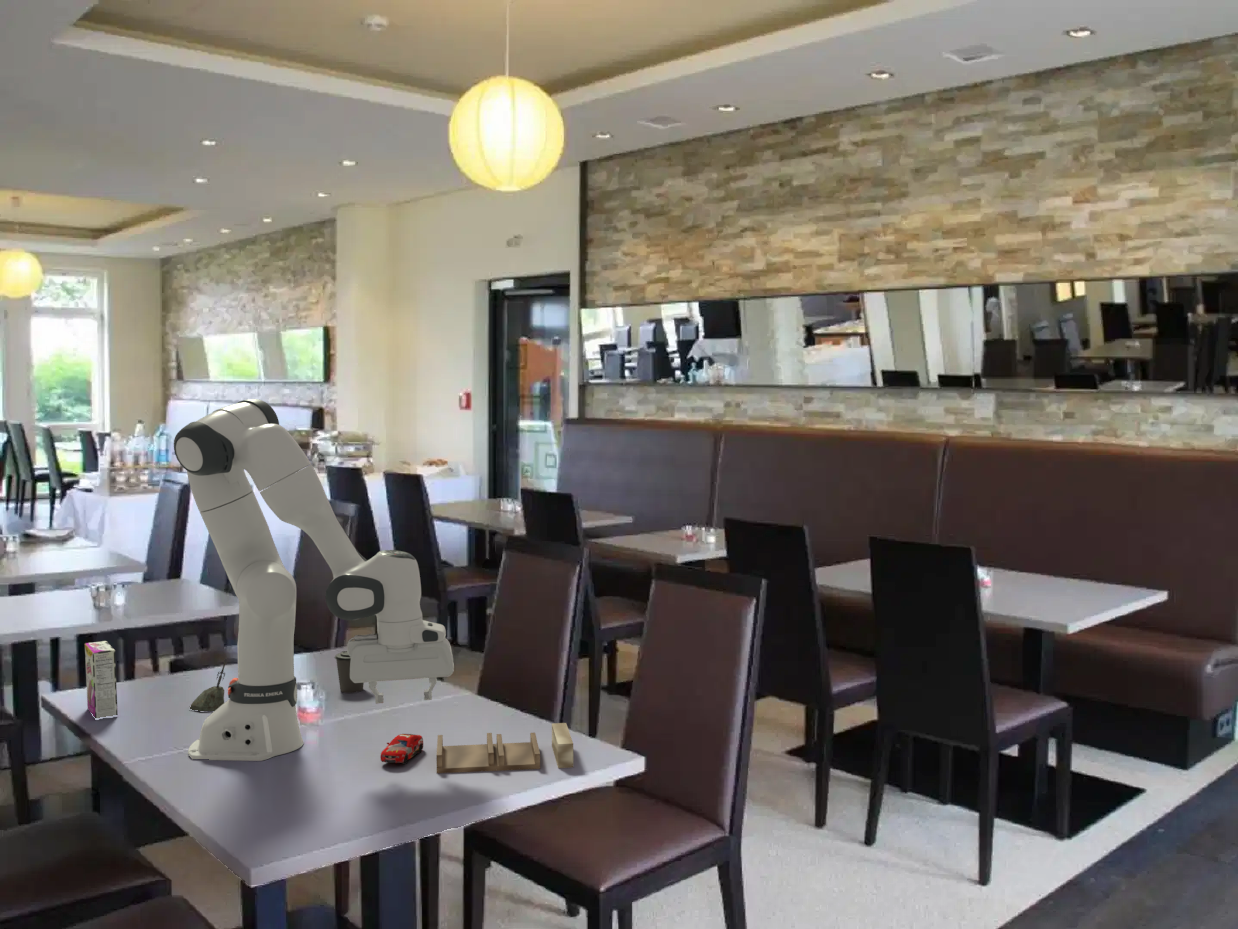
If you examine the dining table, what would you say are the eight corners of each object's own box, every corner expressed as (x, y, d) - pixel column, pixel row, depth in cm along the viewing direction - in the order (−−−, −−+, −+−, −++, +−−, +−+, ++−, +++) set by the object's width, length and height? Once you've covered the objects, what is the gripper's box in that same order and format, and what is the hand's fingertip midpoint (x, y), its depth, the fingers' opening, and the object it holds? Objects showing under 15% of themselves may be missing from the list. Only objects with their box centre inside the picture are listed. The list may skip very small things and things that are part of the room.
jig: (436, 774, 215) (436, 756, 215) (438, 751, 229) (437, 734, 229) (540, 769, 218) (539, 751, 218) (535, 746, 232) (535, 730, 231)
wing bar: (558, 769, 218) (558, 744, 218) (551, 747, 232) (551, 723, 232) (573, 768, 219) (573, 743, 219) (566, 746, 233) (566, 723, 232)
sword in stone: (191, 718, 253) (189, 666, 252) (184, 710, 260) (183, 659, 259) (236, 712, 258) (235, 661, 257) (229, 704, 265) (227, 654, 264)
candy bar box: (85, 713, 257) (83, 642, 256) (109, 709, 260) (107, 640, 259) (94, 724, 248) (92, 652, 247) (118, 721, 251) (116, 649, 250)
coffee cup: (334, 689, 278) (333, 649, 277) (367, 686, 280) (366, 647, 280) (335, 697, 270) (335, 656, 269) (370, 694, 273) (369, 654, 272)
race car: (401, 767, 217) (402, 747, 217) (376, 765, 218) (376, 745, 218) (428, 749, 230) (428, 729, 229) (403, 747, 231) (403, 727, 231)
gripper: (344, 639, 215) (348, 709, 216) (451, 632, 217) (455, 701, 218) (348, 632, 221) (352, 700, 222) (452, 625, 224) (455, 693, 225)
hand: (403, 701), depth 220 cm, fingers open, 8 cm apart
